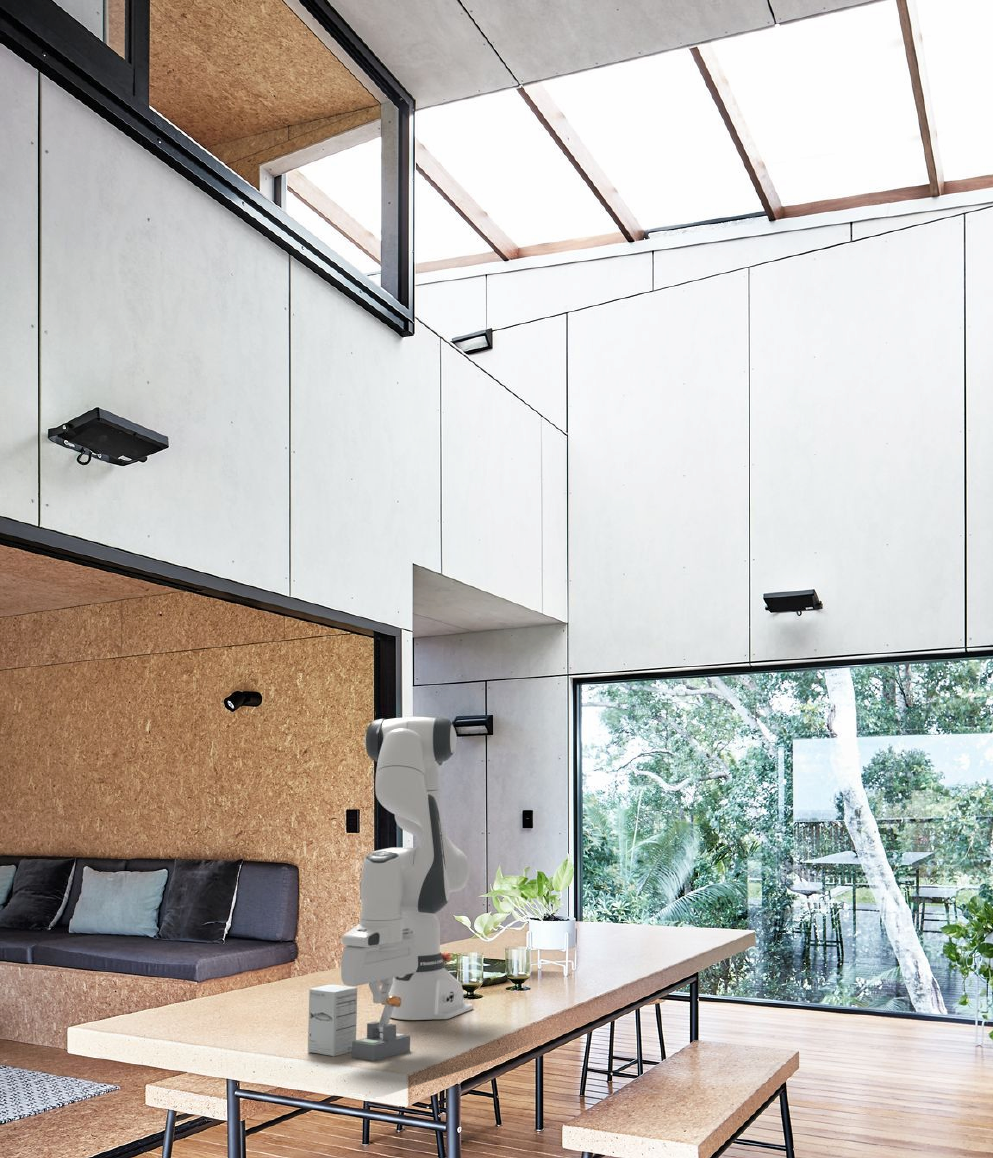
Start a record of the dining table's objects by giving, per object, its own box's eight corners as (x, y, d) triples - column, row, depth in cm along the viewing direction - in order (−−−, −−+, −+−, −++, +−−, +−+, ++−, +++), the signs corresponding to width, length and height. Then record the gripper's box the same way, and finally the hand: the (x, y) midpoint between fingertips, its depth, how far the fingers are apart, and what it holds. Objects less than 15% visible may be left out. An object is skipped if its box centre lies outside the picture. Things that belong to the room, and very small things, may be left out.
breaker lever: (376, 1033, 236) (388, 996, 240) (390, 1035, 233) (402, 998, 237) (370, 1030, 234) (382, 993, 238) (385, 1032, 232) (397, 995, 236)
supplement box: (306, 1052, 235) (307, 988, 237) (330, 1045, 241) (331, 983, 243) (333, 1057, 231) (334, 991, 233) (357, 1050, 237) (358, 986, 239)
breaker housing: (388, 1046, 239) (388, 1017, 240) (410, 1050, 236) (410, 1021, 237) (351, 1057, 231) (352, 1026, 232) (374, 1061, 227) (374, 1030, 228)
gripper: (402, 925, 247) (402, 992, 245) (336, 937, 231) (335, 1008, 229) (425, 927, 244) (424, 995, 241) (359, 939, 227) (358, 1012, 225)
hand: (380, 1002), depth 235 cm, fingers closed
